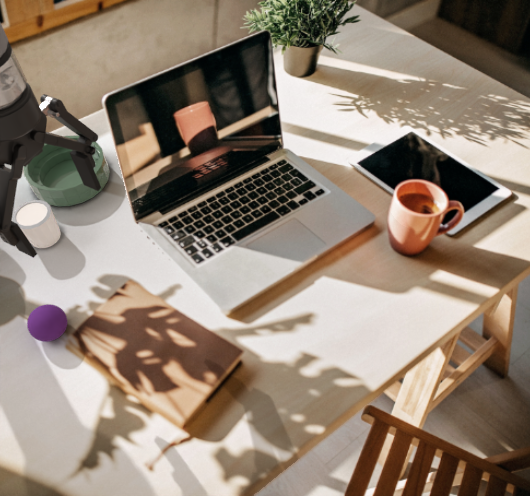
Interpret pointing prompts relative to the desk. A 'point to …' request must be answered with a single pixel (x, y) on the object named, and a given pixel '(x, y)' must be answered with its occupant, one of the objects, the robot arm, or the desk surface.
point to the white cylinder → (37, 223)
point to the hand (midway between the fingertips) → (62, 217)
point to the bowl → (63, 175)
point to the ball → (47, 322)
